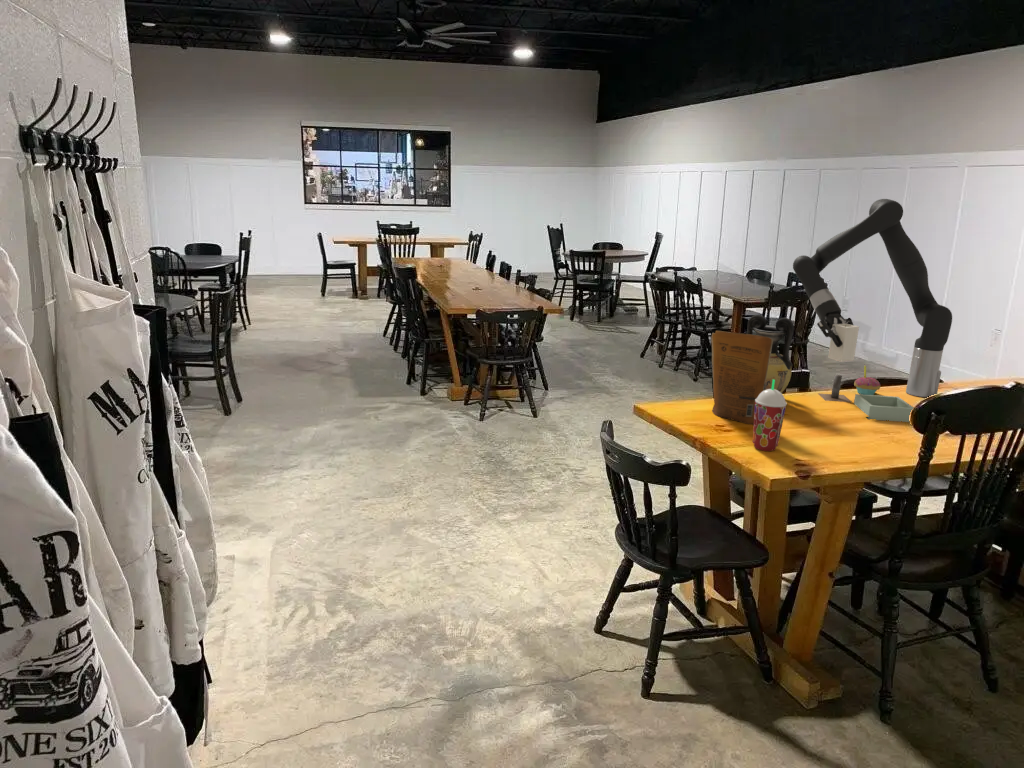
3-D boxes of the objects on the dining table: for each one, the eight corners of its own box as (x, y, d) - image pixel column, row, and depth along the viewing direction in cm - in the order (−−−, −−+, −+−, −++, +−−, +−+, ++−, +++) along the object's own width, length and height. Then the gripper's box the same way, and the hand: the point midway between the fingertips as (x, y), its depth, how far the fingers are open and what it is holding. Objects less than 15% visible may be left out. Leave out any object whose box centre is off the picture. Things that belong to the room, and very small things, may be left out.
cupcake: (858, 399, 258) (863, 366, 255) (848, 392, 266) (853, 360, 263) (882, 400, 258) (888, 367, 255) (872, 393, 266) (877, 361, 263)
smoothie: (785, 448, 206) (795, 380, 200) (771, 455, 200) (781, 385, 195) (758, 440, 211) (766, 374, 206) (743, 447, 206) (752, 378, 200)
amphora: (729, 403, 248) (740, 316, 240) (739, 392, 262) (749, 309, 254) (784, 412, 240) (796, 322, 232) (791, 400, 254) (803, 315, 246)
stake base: (843, 398, 259) (847, 373, 256) (851, 405, 250) (856, 379, 248) (817, 396, 260) (820, 371, 257) (824, 403, 251) (828, 378, 249)
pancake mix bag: (757, 428, 222) (768, 338, 215) (701, 413, 235) (710, 328, 228) (767, 424, 227) (778, 336, 220) (712, 409, 240) (721, 326, 232)
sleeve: (840, 357, 255) (845, 323, 251) (853, 361, 250) (859, 326, 246) (827, 358, 252) (832, 324, 249) (841, 362, 247) (846, 327, 244)
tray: (896, 409, 247) (898, 396, 246) (913, 422, 234) (915, 408, 233) (853, 406, 249) (855, 394, 247) (867, 419, 235) (870, 406, 234)
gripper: (816, 299, 249) (839, 340, 242) (847, 298, 255) (870, 338, 248) (802, 312, 256) (824, 352, 248) (833, 310, 261) (855, 349, 254)
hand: (847, 345), depth 248 cm, fingers closed on sleeve, 5 cm apart
